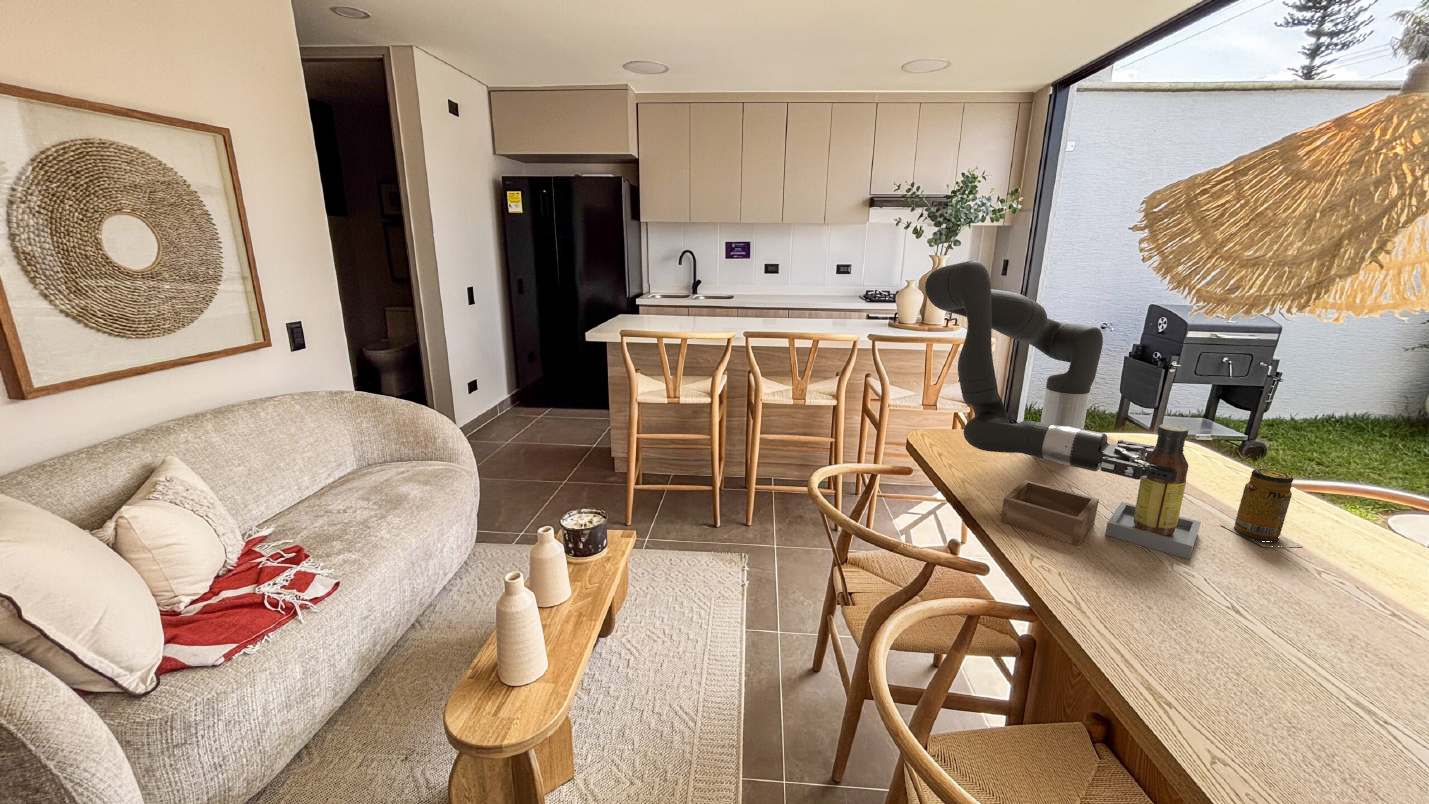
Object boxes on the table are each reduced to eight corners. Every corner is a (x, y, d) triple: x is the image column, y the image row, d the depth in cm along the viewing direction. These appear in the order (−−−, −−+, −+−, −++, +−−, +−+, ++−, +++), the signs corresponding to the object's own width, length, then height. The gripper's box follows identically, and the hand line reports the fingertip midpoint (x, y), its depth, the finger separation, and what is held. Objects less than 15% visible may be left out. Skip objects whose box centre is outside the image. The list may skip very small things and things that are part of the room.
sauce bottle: (1172, 526, 102) (1199, 425, 96) (1176, 541, 97) (1204, 436, 91) (1129, 516, 105) (1152, 419, 99) (1130, 531, 100) (1154, 429, 94)
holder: (1021, 501, 115) (1024, 479, 113) (1094, 522, 106) (1098, 499, 104) (1000, 521, 107) (1003, 498, 105) (1077, 546, 98) (1082, 520, 96)
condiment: (1256, 524, 104) (1272, 465, 101) (1303, 547, 96) (1323, 484, 93) (1218, 525, 104) (1234, 466, 101) (1263, 548, 96) (1281, 485, 93)
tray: (1119, 513, 109) (1121, 501, 109) (1197, 534, 101) (1200, 521, 100) (1105, 534, 101) (1107, 522, 101) (1189, 559, 93) (1192, 546, 92)
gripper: (1066, 437, 102) (1179, 460, 90) (1086, 420, 111) (1190, 439, 100) (1060, 475, 104) (1169, 501, 92) (1080, 455, 113) (1181, 477, 102)
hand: (1180, 469), depth 96 cm, fingers open, 8 cm apart
